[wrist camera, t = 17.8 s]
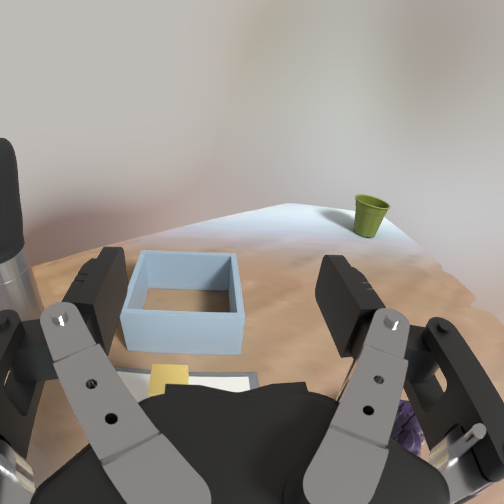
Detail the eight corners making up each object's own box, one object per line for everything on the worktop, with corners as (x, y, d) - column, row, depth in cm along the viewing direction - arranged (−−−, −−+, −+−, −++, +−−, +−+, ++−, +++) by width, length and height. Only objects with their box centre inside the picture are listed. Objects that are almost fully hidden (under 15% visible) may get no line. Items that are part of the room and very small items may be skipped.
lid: (98, 494, 22) (51, 452, 16) (117, 375, 39) (98, 307, 32) (265, 503, 25) (289, 469, 19) (247, 380, 41) (258, 314, 35)
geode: (320, 539, 21) (341, 519, 17) (265, 476, 30) (269, 438, 26) (430, 448, 30) (461, 405, 26) (377, 406, 39) (397, 360, 35)
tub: (127, 350, 44) (118, 312, 40) (144, 284, 59) (141, 250, 55) (240, 354, 46) (245, 317, 42) (233, 287, 62) (236, 253, 58)
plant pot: (381, 245, 88) (391, 211, 82) (345, 235, 91) (353, 200, 86) (381, 231, 97) (390, 201, 92) (348, 222, 101) (356, 191, 95)
